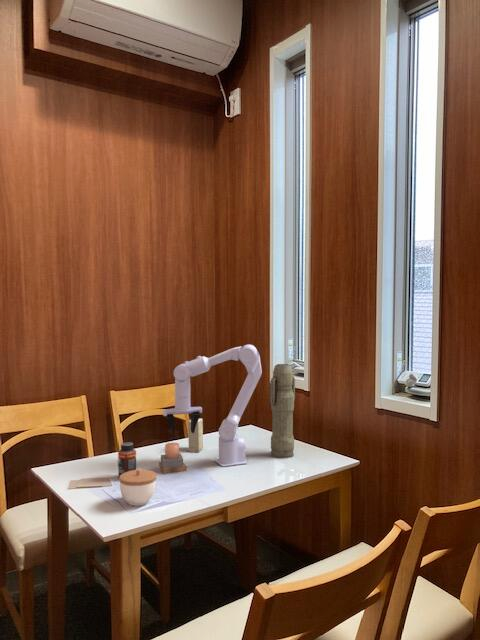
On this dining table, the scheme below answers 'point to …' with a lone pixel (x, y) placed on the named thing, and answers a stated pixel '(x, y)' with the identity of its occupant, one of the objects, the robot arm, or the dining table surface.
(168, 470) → the walnut slab
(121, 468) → the supplement bottle
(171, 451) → the terracotta cylinder
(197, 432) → the skincare box
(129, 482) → the lidded jar
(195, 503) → the dining table surface
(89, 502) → the dining table surface
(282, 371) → the thermos
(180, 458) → the grey flat block
